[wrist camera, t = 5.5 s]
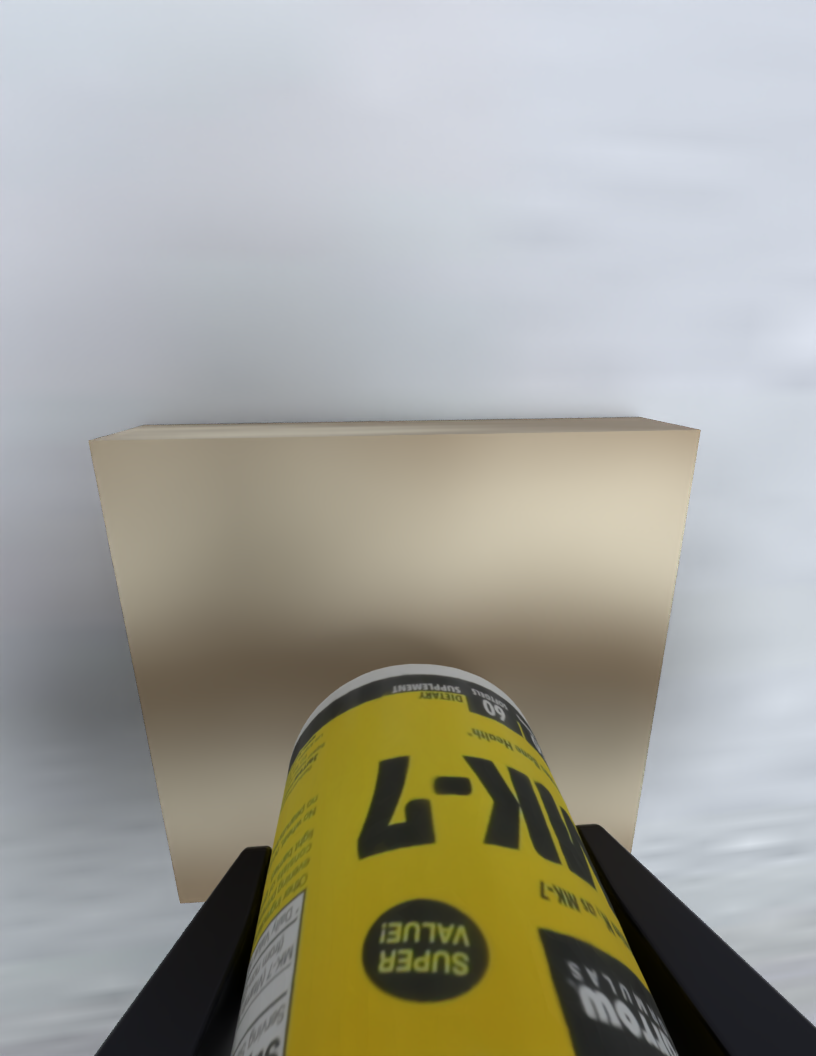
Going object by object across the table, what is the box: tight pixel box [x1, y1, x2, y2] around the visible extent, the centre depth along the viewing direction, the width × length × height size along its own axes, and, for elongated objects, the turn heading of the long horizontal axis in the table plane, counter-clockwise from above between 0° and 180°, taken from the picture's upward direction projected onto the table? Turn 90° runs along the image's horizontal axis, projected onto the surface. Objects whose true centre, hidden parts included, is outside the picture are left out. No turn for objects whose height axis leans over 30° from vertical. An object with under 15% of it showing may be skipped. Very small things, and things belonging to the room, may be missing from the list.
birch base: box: [89, 417, 701, 903], centre depth 13 cm, size 12×12×2 cm
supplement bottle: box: [231, 664, 679, 1056], centre depth 6 cm, size 5×5×8 cm
